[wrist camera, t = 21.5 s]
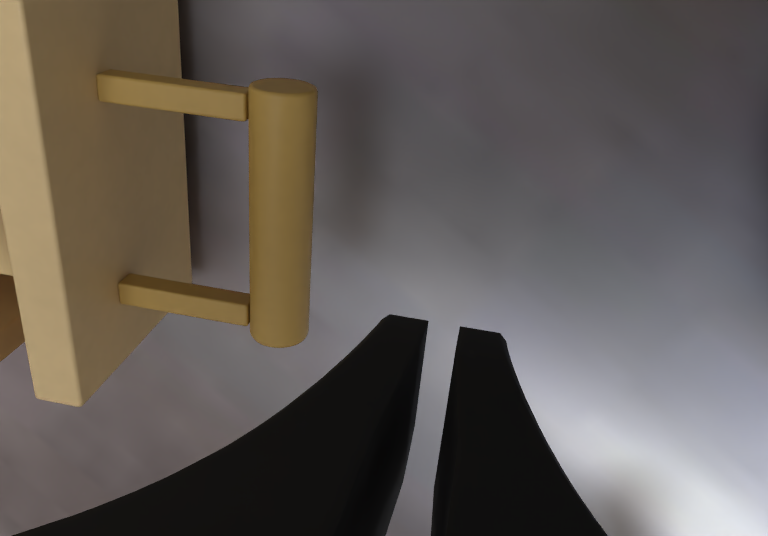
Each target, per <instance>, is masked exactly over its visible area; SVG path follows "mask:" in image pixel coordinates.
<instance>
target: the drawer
mask: <svg viewBox="0 0 768 536" xmlns="http://www.w3.org/2000/svg"><path fill="white" fill-rule="evenodd" d="M317 99H318V91H317V88H316V86H314V85H313V84H310V83H308V82H305V81H301V80H296V79H288V78H266V79H260V80H256V81H253V82H252V83H250V85H249V87H241V86H234V85H226V84H219V83H211V82H204V81H196V80H188V79H182V73H181V54H180V34H179V14H178V0H0V209H1V214H2V219H3V225H4V230H5V235H6V241H7V246H8V252H9V257H10V262H11V268H12V273H13V276H10V275H5V274H0V362H1V361H2V360H3V359H4V358H6V357H7V356H8V355H9V354H10V353H12V352H13V351H14V350H15V349H16V348H17V347H19V346H20V345H21V344H22V343H23V342H25V343H26V348H27V354H28V359H29V365H30V370H31V375H32V381H33V386H34V392H35V396H36V398H38V399H41V400H46V401H51V402H56V403H61V404H66V405H71V406H76V407H81V406H83V405H84V404H85V403H86V401H87V400H88V399H89V398H90V397H91V396H92V395H93V394H94V393H95V392H96V391H97V389H98V388H99V387H100V386H101V385H102V384H103V383H104V382H105V381H106V380H107V379H108V377H109V376H110V375H111V374H112V373H113V372H114V371H115V370H116V369H117V368H118V367H119V365H120V364H121V363H122V362H123V361H124V360H125V359H126V358H127V357H128V356H129V355H130V353H131V352H132V351H133V350H134V349H135V348H136V347H137V346H138V345H139V344H140V343H141V341H142V340H143V339H144V338H145V337H146V336H147V335H148V334H149V333H150V332H151V330H152V329H153V328H154V327H155V326H156V325H157V324H158V323H159V322H160V321H161V320H162V318H163V317H164V316H165V315H166V314H167V313H168V312H170V313H175V314H181V315H187V316H192V317H198V318H203V319H209V320H215V321H220V322H226V323H231V324H237V325H243V326H247V325H248V324H249V323H250V333H251V335H252V337H253V338H254V340H255V341H257V342H258V343H260V344H262V345H265V346H268V347H274V348H284V347H290V346H294V345H296V344H299V343H300V342H302V341H303V340H304V339H305V338H306V336H307V334H308V330H309V305H310V279H311V253H312V227H313V202H314V176H315V150H316V124H317ZM184 113H186V114H193V115H200V116H207V117H215V118H222V119H229V120H236V121H246V120H248V119H249V251H250V294H248V293H242V292H237V291H231V290H225V289H219V288H213V287H208V286H202V285H196V284H192V270H191V250H190V231H189V211H188V191H187V172H186V152H185V132H184Z"/></svg>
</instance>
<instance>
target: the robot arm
mask: <svg viewBox="0 0 768 536" xmlns="http://www.w3.org/2000/svg"><path fill="white" fill-rule="evenodd" d="M427 328H428V321H426V320H420V319H414V318H408V317H402V316H397V315H391V314H390V315H388V316H387V317H385V318H383V319H382V320H381V321H380V322H379V323H378V325H377V326H376V327H375V328H374V329H373V330H372V331H371V332H370V333H369V334H368V335H367V336H366V337H365V338H364V339H363V340H362V341H361V342H360V343H359V344H358V345H357V346H356V347H355V348H354V349H353V350H352V351H351V352H350V353H349V354H348V355H347V356H346V357H345V358H344V359H343V360H342V361H340V362H339V363H338V364H337V365H336V366H335V367H334V368H333V369H331V370H330V371H329V372H328V373H327V374H326V375H325V376H324V377H323V378H321V379H320V380H319V381H318V382H317V383H315V384H314V385H313V386H312V387H310V388H309V389H308V390H307V391H305V392H304V393H303V394H301V395H300V396H299V397H298V398H296V399H295V400H294V401H292V402H291V403H290V404H289V405H287V406H286V407H285V408H283V409H282V410H281V411H279V412H278V413H277V414H275V415H274V416H272V417H271V418H269V419H268V420H267V421H265V422H264V423H262V424H261V425H259V426H258V427H256V428H255V429H253V430H252V431H250V432H248V433H247V434H245V435H244V436H242V437H240V438H239V439H237V440H236V441H234V442H232V443H231V444H229V445H227V446H226V447H224V448H222V449H220V450H218V451H217V452H215V453H213V454H211V455H209V456H207V457H205V458H203V459H201V460H199V461H198V462H196V463H194V464H192V465H190V466H188V467H186V468H184V469H182V470H180V471H178V472H176V473H174V474H172V475H170V476H168V477H166V478H164V479H162V480H160V481H157V482H155V483H153V484H151V485H148V486H146V487H144V488H141V489H139V490H137V491H135V492H132V493H130V494H127V495H125V496H122V497H120V498H117V499H115V500H113V501H110V502H108V503H105V504H103V505H100V506H98V507H95V508H92V509H90V510H87V511H84V512H81V513H79V514H76V515H73V516H70V517H67V518H64V519H61V520H58V521H55V522H52V523H49V524H46V525H43V526H40V527H37V528H34V529H31V530H28V531H25V532H22V533H19V534H16V535H13V536H385V535H386V532H387V529H388V526H389V523H390V520H391V517H392V514H393V511H394V508H395V504H396V501H397V498H398V495H399V492H400V489H401V486H402V483H403V479H404V474H405V470H406V465H407V460H408V455H409V450H410V445H411V441H412V436H413V431H414V426H415V419H416V411H417V404H418V396H419V389H420V381H421V374H422V366H423V358H424V351H425V343H426V336H427ZM431 536H608V535H607V534H606V533H605V531H604V530H603V529H602V527H601V526H600V525H599V523H598V522H597V521H596V519H595V518H594V516H593V515H592V513H591V512H590V511H589V509H588V508H587V506H586V505H585V503H584V502H583V501H582V499H581V498H580V496H579V495H578V493H577V492H576V490H575V488H574V487H573V485H572V484H571V482H570V481H569V479H568V477H567V476H566V474H565V472H564V471H563V469H562V468H561V466H560V464H559V462H558V461H557V459H556V457H555V455H554V453H553V452H552V450H551V448H550V446H549V445H548V443H547V441H546V439H545V437H544V435H543V433H542V431H541V429H540V428H539V425H538V423H537V421H536V419H535V417H534V415H533V413H532V411H531V409H530V406H529V404H528V402H527V400H526V398H525V396H524V393H523V391H522V389H521V386H520V384H519V381H518V378H517V376H516V373H515V371H514V368H513V365H512V362H511V359H510V356H509V352H508V348H507V343H506V340H505V339H504V338H503V336H502V335H501V334H500V333H496V332H490V331H484V330H478V329H473V328H467V327H461V326H460V330H459V335H458V340H457V346H456V351H455V358H454V364H453V371H452V377H451V383H450V390H449V396H448V402H447V409H446V415H445V421H444V428H443V434H442V441H441V447H440V453H439V460H438V466H437V472H436V479H435V485H434V497H433V512H432V527H431Z"/></svg>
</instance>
